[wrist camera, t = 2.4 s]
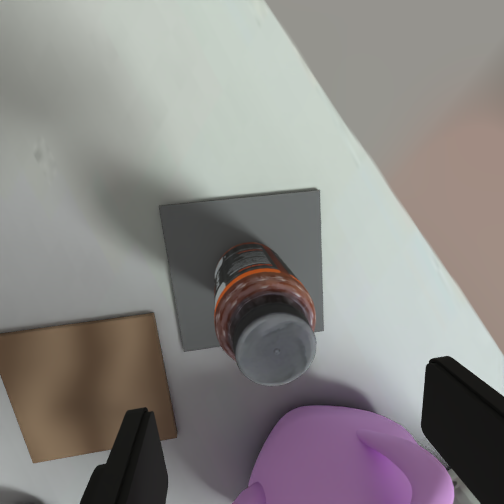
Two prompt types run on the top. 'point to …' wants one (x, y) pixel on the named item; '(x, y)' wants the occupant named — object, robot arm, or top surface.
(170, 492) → the top surface
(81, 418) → the walnut board
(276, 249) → the dot mat
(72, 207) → the top surface
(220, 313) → the supplement bottle
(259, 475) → the teapot
